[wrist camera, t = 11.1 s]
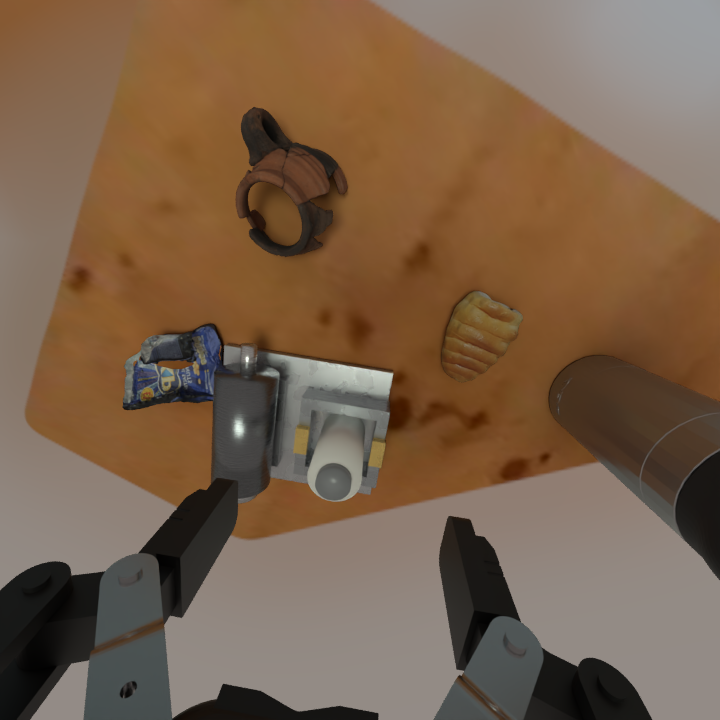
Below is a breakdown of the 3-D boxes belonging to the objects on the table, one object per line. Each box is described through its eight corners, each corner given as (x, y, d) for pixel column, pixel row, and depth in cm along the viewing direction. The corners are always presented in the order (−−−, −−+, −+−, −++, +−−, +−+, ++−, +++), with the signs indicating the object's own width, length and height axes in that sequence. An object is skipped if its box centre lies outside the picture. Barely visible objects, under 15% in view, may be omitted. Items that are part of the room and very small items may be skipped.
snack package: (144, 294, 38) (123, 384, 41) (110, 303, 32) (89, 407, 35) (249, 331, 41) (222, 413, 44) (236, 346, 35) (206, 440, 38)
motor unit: (398, 358, 38) (401, 380, 31) (372, 490, 43) (370, 535, 36) (228, 330, 38) (193, 346, 31) (223, 464, 43) (191, 504, 36)
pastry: (478, 386, 38) (487, 399, 35) (424, 362, 38) (427, 373, 34) (522, 310, 36) (537, 315, 32) (464, 284, 35) (473, 286, 32)
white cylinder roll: (368, 415, 39) (365, 466, 29) (361, 453, 40) (356, 513, 31) (325, 407, 39) (308, 456, 29) (319, 445, 40) (301, 503, 31)
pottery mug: (371, 211, 34) (338, 244, 29) (304, 245, 40) (266, 278, 34) (304, 77, 29) (249, 85, 23) (238, 137, 34) (180, 156, 29)
